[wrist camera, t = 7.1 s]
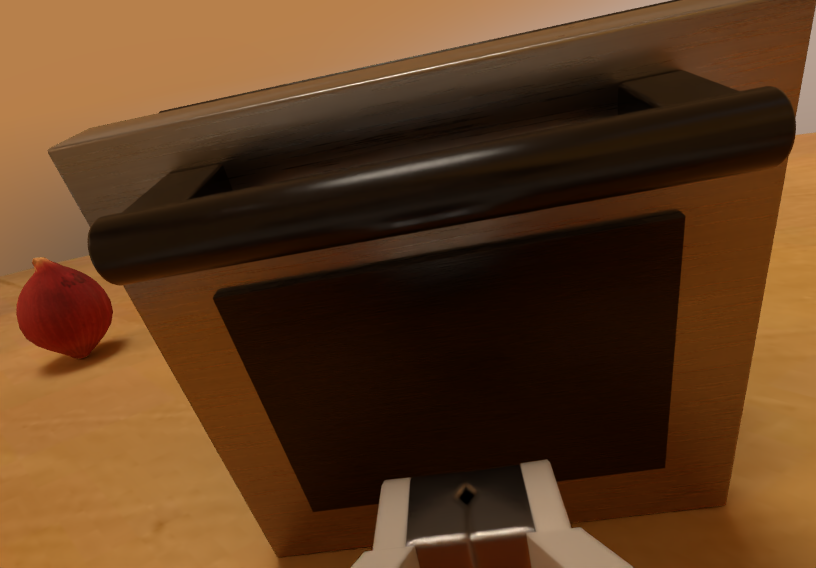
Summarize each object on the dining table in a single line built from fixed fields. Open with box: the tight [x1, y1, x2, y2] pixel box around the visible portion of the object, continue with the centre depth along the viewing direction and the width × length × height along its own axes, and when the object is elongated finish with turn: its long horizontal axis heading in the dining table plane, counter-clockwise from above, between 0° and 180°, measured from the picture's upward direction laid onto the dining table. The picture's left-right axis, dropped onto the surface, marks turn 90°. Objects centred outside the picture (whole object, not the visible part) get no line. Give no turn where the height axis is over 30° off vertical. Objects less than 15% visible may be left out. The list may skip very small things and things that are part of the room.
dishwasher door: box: [48, 0, 816, 557], centre depth 12 cm, size 4×14×14 cm, turn 87°
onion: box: [17, 257, 113, 359], centre depth 38 cm, size 6×6×8 cm
